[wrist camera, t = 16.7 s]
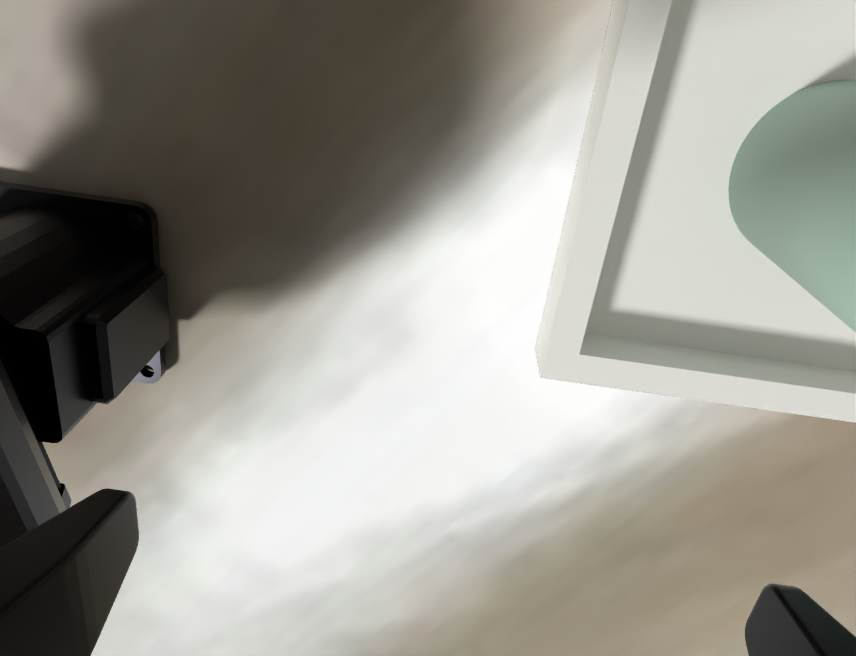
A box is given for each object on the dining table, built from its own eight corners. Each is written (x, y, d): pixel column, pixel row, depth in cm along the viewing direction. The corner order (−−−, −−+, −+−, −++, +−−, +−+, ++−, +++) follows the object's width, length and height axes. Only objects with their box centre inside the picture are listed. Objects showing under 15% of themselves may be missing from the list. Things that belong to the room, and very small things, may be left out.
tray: (534, 347, 22) (540, 377, 20) (647, -150, 16) (669, -170, 14) (941, 405, 22) (982, 440, 20) (1212, -70, 16) (1304, -80, 14)
